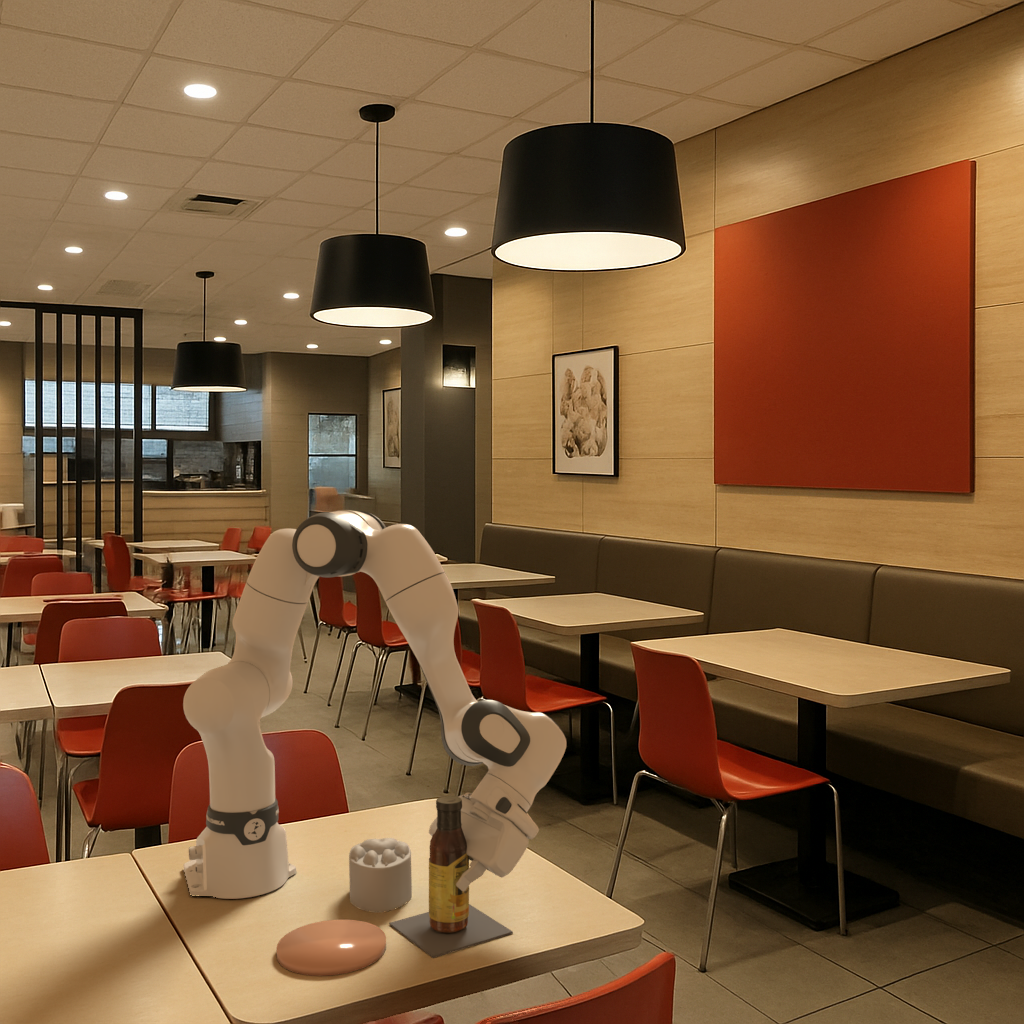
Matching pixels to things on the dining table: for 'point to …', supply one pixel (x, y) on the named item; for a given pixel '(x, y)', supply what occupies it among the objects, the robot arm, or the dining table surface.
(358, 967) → the terracotta plate
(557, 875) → the dining table surface
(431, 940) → the rubber mat
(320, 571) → the robot arm
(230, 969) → the dining table surface
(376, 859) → the lumpy-topped squat cylinder
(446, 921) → the sauce bottle
